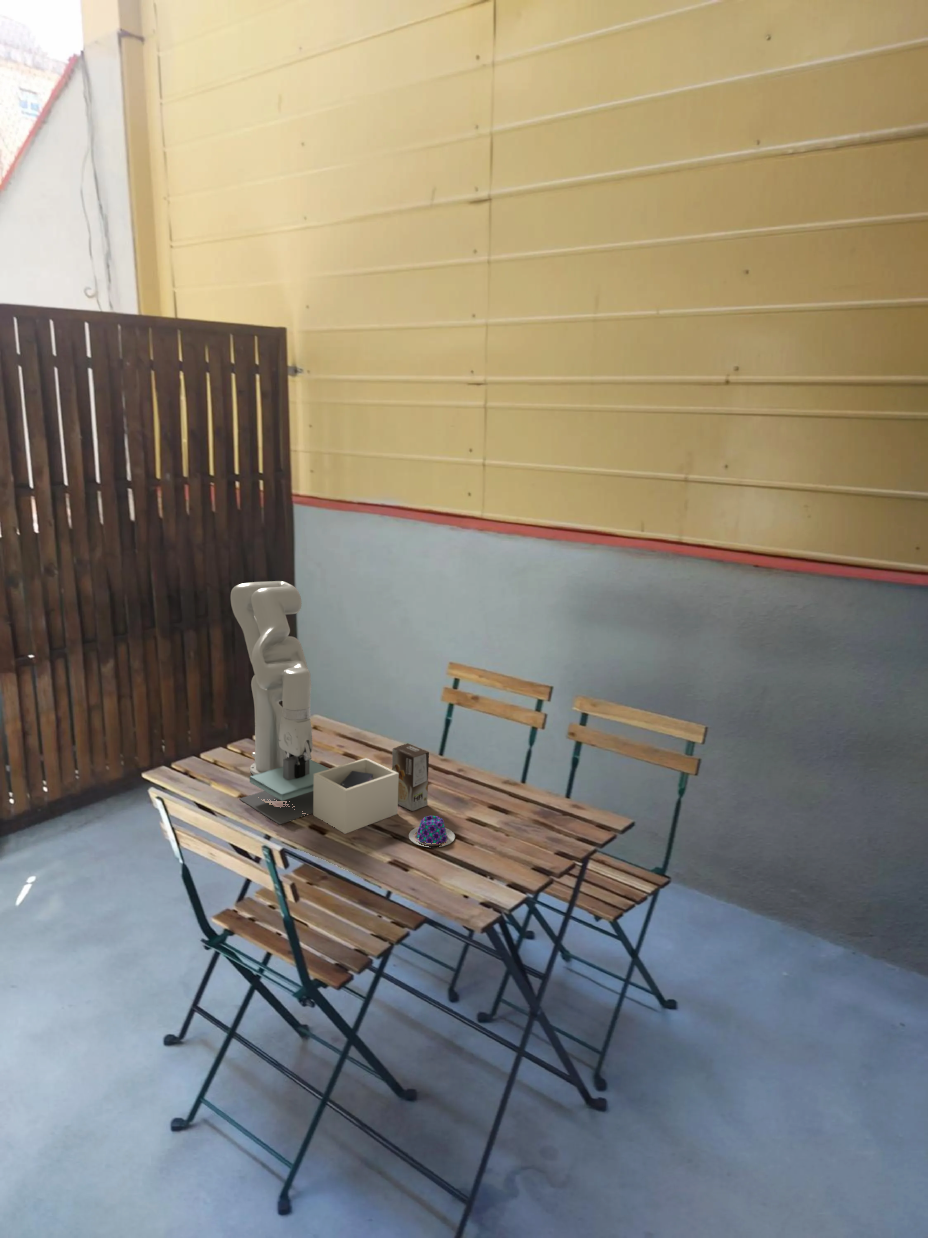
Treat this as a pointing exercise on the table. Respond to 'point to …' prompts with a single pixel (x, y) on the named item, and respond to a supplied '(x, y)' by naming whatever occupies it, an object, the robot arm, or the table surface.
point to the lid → (287, 779)
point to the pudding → (432, 831)
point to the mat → (283, 813)
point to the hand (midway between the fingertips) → (296, 774)
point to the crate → (355, 796)
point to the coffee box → (411, 775)
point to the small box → (356, 779)
